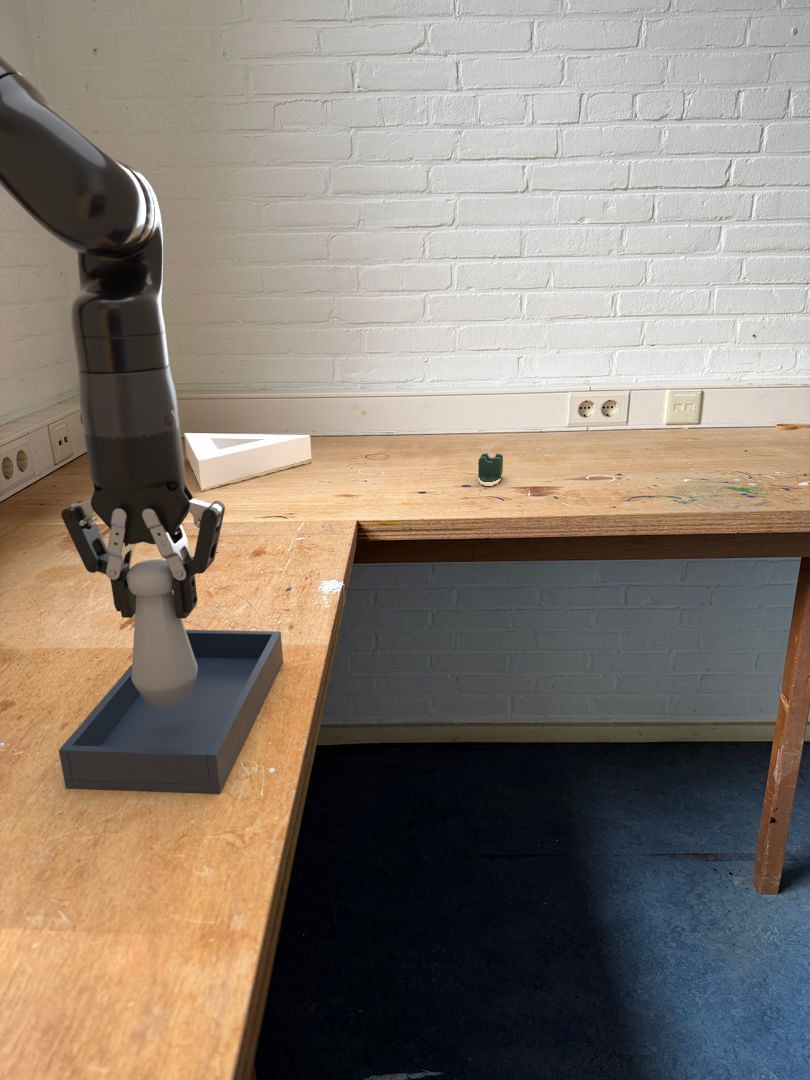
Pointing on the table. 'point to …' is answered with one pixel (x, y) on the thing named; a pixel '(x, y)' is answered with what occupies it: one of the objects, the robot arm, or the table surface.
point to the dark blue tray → (177, 721)
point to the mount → (490, 467)
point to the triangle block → (241, 454)
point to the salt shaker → (159, 638)
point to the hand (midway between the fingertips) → (157, 613)
